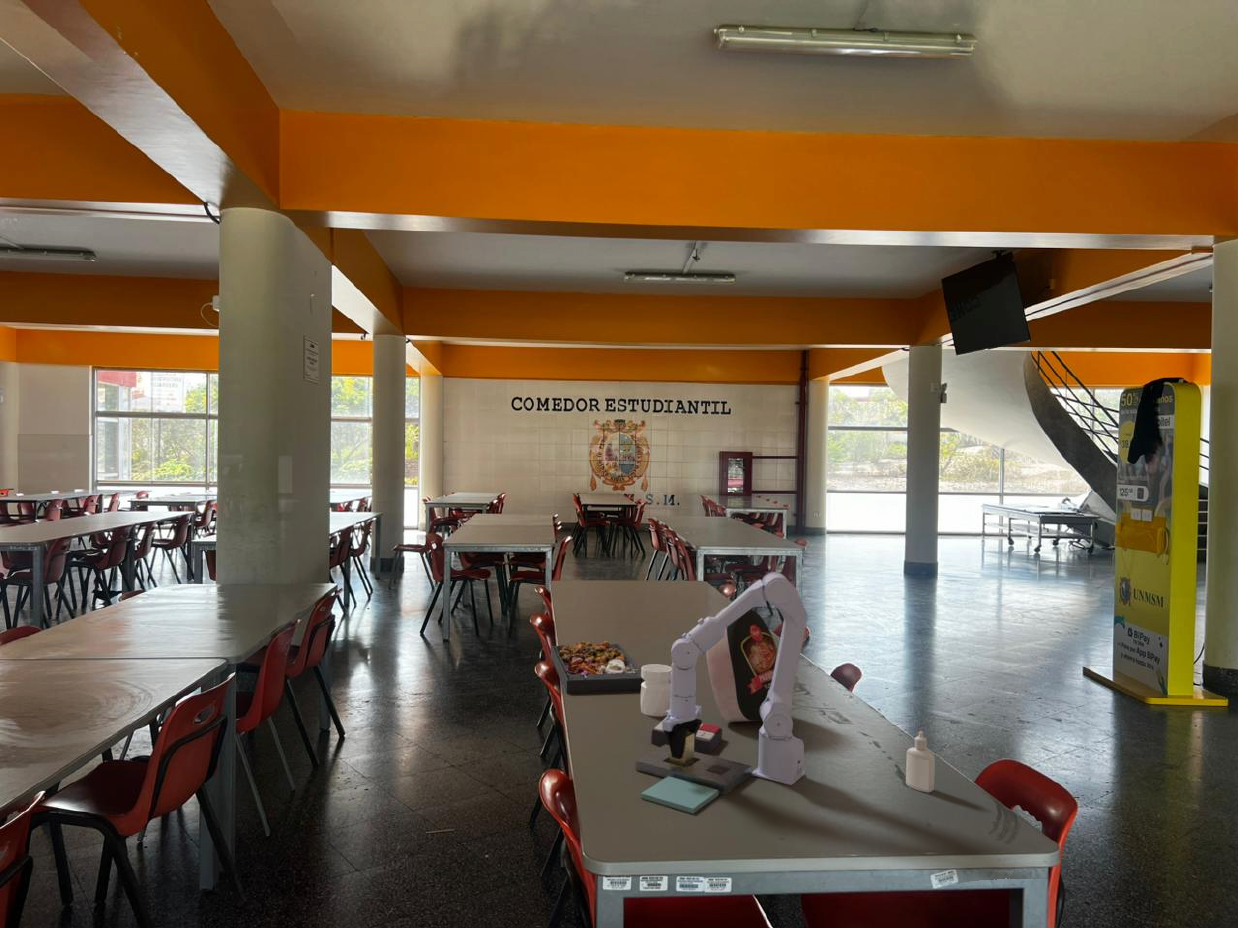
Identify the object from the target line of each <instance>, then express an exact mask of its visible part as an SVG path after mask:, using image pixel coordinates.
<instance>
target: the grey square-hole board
mask: <svg viewBox="0 0 1238 928" xmlns="http://www.w3.org/2000/svg"><path fill="white" fill-rule="evenodd" d="M669 754H670V746H669V745H666V744H665V745H663V746H662V745H660V746H659V747H658V748H657V749H655V750H653V751H651V752H648V753H647V754H645V755H644V756H642V757H640V758H638V759H636V760H635V770H636V771H639V772H643V773H646V774H649V775H653V776H657V777H660V778H663V779H665V778H666V777H668V776H669V777H673V778H677V779H680V780H684V781H687V782H691V783H695V784H698V785H702V786H706V787H709V788H713V789H716V790H719V794H721V795H727V794H728V793H730V792H731V791H732V790H733V789H734V788H736V787H737V786H739V785H740V784H741V783H743V782H745V780H747V779H748V778H750V777H751V776H752V775H751V773H752V772H753V771H752V770H753V769H752V768H753V766H752V765H750V764H745V763H742V762H737V761H733V760H729V759H726V758H722V757H717V756H713V755H709V754H707V753H705V754H704V753H703V752H699V751H694V764H693V765H691V766H689V767H688V768H686V767H682V766H678V765H675V764H671V763H669Z"/></svg>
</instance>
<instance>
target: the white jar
mask: <svg viewBox="0 0 1238 928" xmlns="http://www.w3.org/2000/svg"><path fill="white" fill-rule="evenodd" d="M640 670H641V677H642V678H643V679H644V680H645V681H644V682H643V683H642V684H641V691H640V713H641V714H644V715H645V716H650V717H667V714H666V711H667V710H669V709H670V688H671V672H672V669H671V666H669V665H666V664H660V663H659V664H657V663H655V664H654V663H653V664H650V663H649V664H645V665H642V667H641V668H640Z"/></svg>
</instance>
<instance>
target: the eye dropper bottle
mask: <svg viewBox="0 0 1238 928" xmlns="http://www.w3.org/2000/svg"><path fill="white" fill-rule="evenodd" d="M905 763H906V765H905V767H906V769H905V784H906V785H907V787H909V788H911V789H913V790H916V791H919V792H922V793H923V792H924V793H931V792H933V791H935V790H934V789H935V765H936V764H935V763H936V761H935V755H934V754H933V752H931V751H930V750H928V740H927V738H926V737H924V733H923V731H921V730H920V731H919V732H918V736H915V737H914V747H910V748H908V749H907V751H906V761H905Z"/></svg>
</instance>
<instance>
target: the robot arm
mask: <svg viewBox="0 0 1238 928" xmlns="http://www.w3.org/2000/svg"><path fill="white" fill-rule="evenodd" d="M767 602H768V603H769V604H771V605H772V606H773V607H774V608H776V609H777V610H778V612H779V613H780V614H781V615H782V617H783V618H784V619H783V624H782V629H781V633H780V638H779V644H778V648H777V650H778V653H777V658H776V663H775V668H774V673H773V678H772V683H771V687H770V689H769V691H768V694H767V698H766V700H765V701H764V702H763V703H762V705H761V707H760V716H761V718H762V720H761V721H762V722H763V723H762V726H761V727H760V728H759V730H758V763H757V764H758V765H757V766H758V767H757V768H755V769H754V770H753V771H752V773H751V776H755V777H758V778H761V779H765V780H770V781H774V782H777V783H780V784H781V783H782V784H786V785H789V786H793V784H795V783H796V782H797V781H799V779H801V778H802V777H803V776H804V775H805V771H804V765H805V764H804V763H805V762H804V760H805V746H804V744H805V743H804V741H803V739H801V738H797V737H795V735H793V727H794V722H793V721H794V720H793V717H792V710H793V692H794V687H795V682H796V677H797V672H798V667H799V661H800V657H801V651H802V648H803V643H804V638H805V631H806V627H807V622H808V613H807V610H806V608H805V606H804V603H803V601H802V599H801V596H800V592H799V590H798V589H797V588H796V587H795V586H794V585H793V584H792V583H791V582H790V581H789V579H788V578H787V577H786V576H785V575H784V574H782V573H780V572H777V571H773V572H772V571H771V572H768V573H767V574H765V575H763V578H762V579H759V580H756V581H755V582H754V583H753V584H751V585H750V586H749V587H748V588H746V589H745V590H744V591H743V592H742V593H741V594H740V595H739V596H737V597H736V599H734V600H733V601H732V602H730V604H729V605H728V606H726V607H727V608H726V607H724V608H725V609H724V608H723V609H724V610H723V609H722V610H723V611H722V612H721V613H720V614H719V615H718V616H717V617H715V616H706V617H705V618H703V617H701V618H700V619H698V621H697V622H698V624H697V625H696V626H694V627H693V628H692V629H690V631H688V632H687V633H686V632H684V633H683V634H682V635H681V636H682V638H679V639H677V640H675V641H674V642H673V643H672V646H671V649H670V657H671V661H672V663H671V666H670V667H671V669H672V672H671V680H670V684H671V688H670V709H669V710H667V711H666V714H667V715H666V716H665V718H666V719H665V718H664V719H665V720H663V721H662V720H661V721H662V730H663V731H664V732H665V734H666V736H667V739H668V742H669V746H670V750H671V755H672V757H673V758H677V759H681V757H682V754H683V746H684V740H685V737H686V734H687V732H688V731H689V732H693V733H694V740H695V737H696V734H697V732H698V729H699V727H700V726H701V724H702V723H703V721H702V720H701V719H699V718H698V717H700V716H702V712H703V711H702V708H703V707H702V706H701V705H697V704H696V703H697V701H696V700H697V672H696V665H697V662H698V660H699V656H701V655H702V656H703V655H704V654H705V653H706V652H707V651H708V650H709V649H710V648H711V647H713V646H714V645H715V644H716V643H717V642H719V641H720V640H721V639H722V638H723V637H724V635H725V628H726V627H728V626H729V625H730V624H732V623H733V622H734V621H736V620H737V619H738V618H740V617H741V616H742V615H743V614H745V613H746V612H747V611H749V610H750V609H753V608H760V607H761V608H762V607H768V605H767Z"/></svg>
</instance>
